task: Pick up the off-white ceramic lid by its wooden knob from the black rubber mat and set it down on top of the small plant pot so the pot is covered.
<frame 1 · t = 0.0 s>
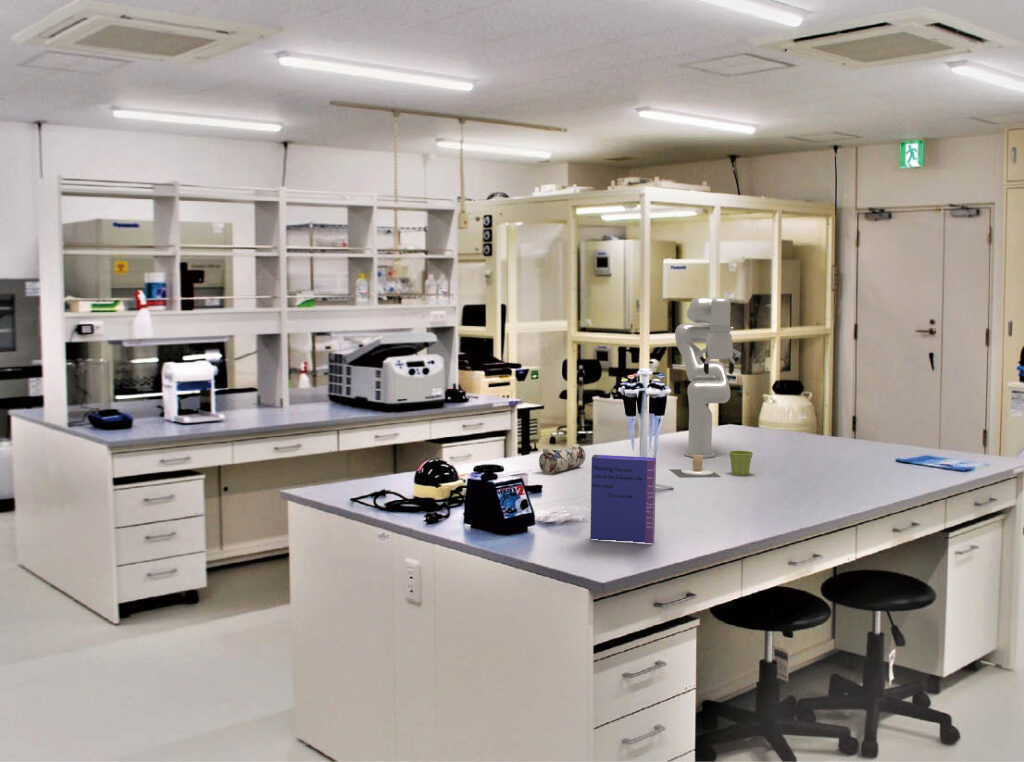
hand: (718, 373, 402), 37 cm above the worktop, tool pointing down, fingers open, 9 cm apart
mat: (694, 474, 388), on the worktop
lid: (697, 473, 388), resting on mat
blue hardcover book: (622, 541, 289), on the worktop
pencil case: (562, 470, 395), on the worktop
plant pot: (740, 475, 388), on the worktop
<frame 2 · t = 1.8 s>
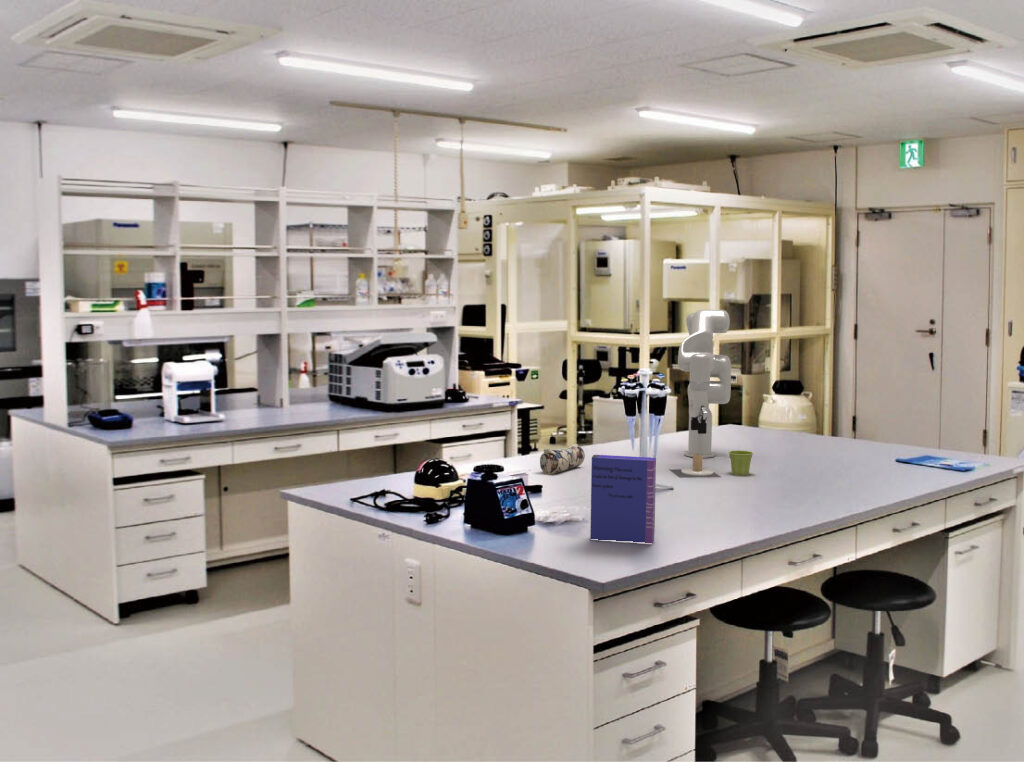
hand: (698, 431, 387), 16 cm above the worktop, tool pointing down, fingers open, 9 cm apart
nothing on the worktop moved.
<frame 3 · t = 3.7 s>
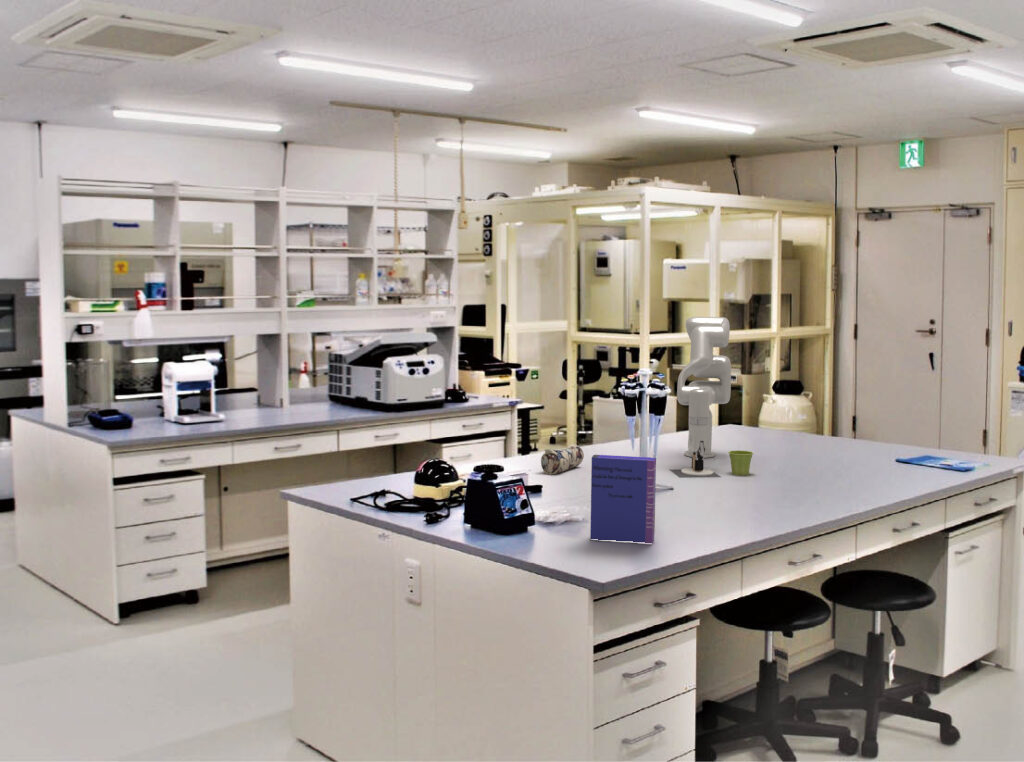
hand: (697, 468, 388), 2 cm above the worktop, tool pointing down, fingers closed on lid, 3 cm apart
lid: (697, 473, 388), resting on mat, touching gripper
everything else where it was.
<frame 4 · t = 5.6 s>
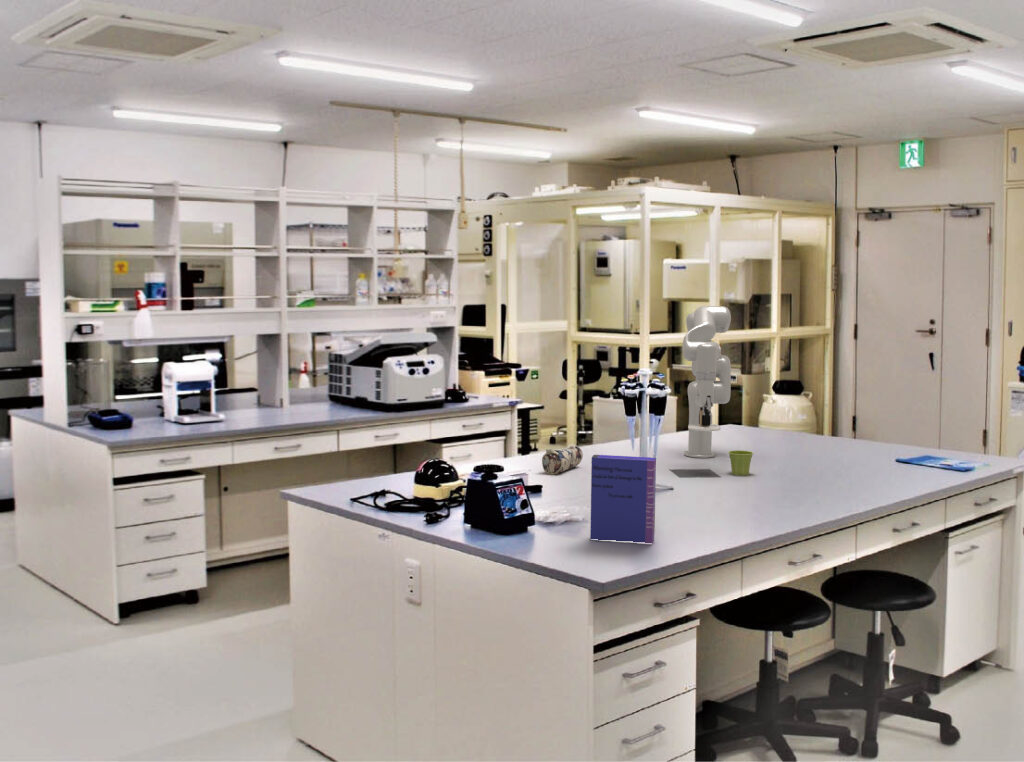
hand: (704, 424, 387), 19 cm above the worktop, tool pointing down, fingers closed on lid, 3 cm apart
lid: (704, 428, 387), point 17 cm above the worktop, touching gripper
everything else where it was.
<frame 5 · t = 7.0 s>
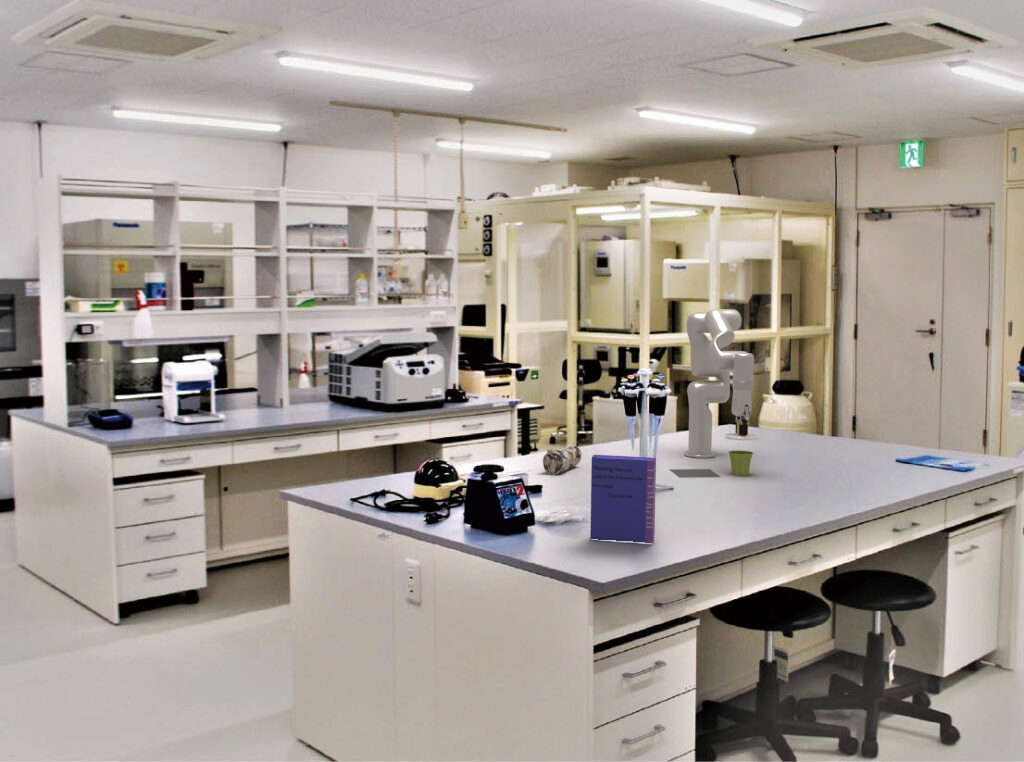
hand: (741, 433, 386), 16 cm above the worktop, tool pointing down, fingers closed on lid, 3 cm apart
lid: (741, 438, 386), point 14 cm above the worktop, touching gripper
when the fingers open (12 cm above the worktop, at t = 7.8 s): lid drops 2 cm, resting on plant pot.
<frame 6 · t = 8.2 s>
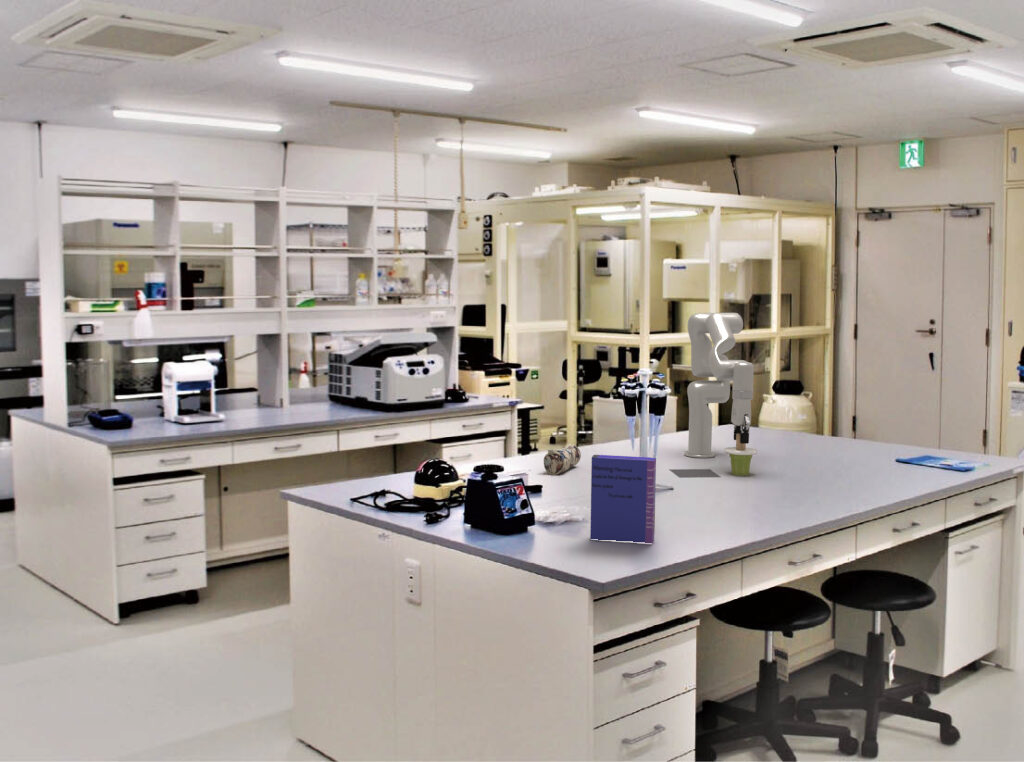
hand: (741, 441, 387), 13 cm above the worktop, tool pointing down, fingers open, 7 cm apart
lid: (740, 452, 387), point 9 cm above the worktop, touching plant pot
plant pot: (740, 475, 388), on the worktop, touching lid
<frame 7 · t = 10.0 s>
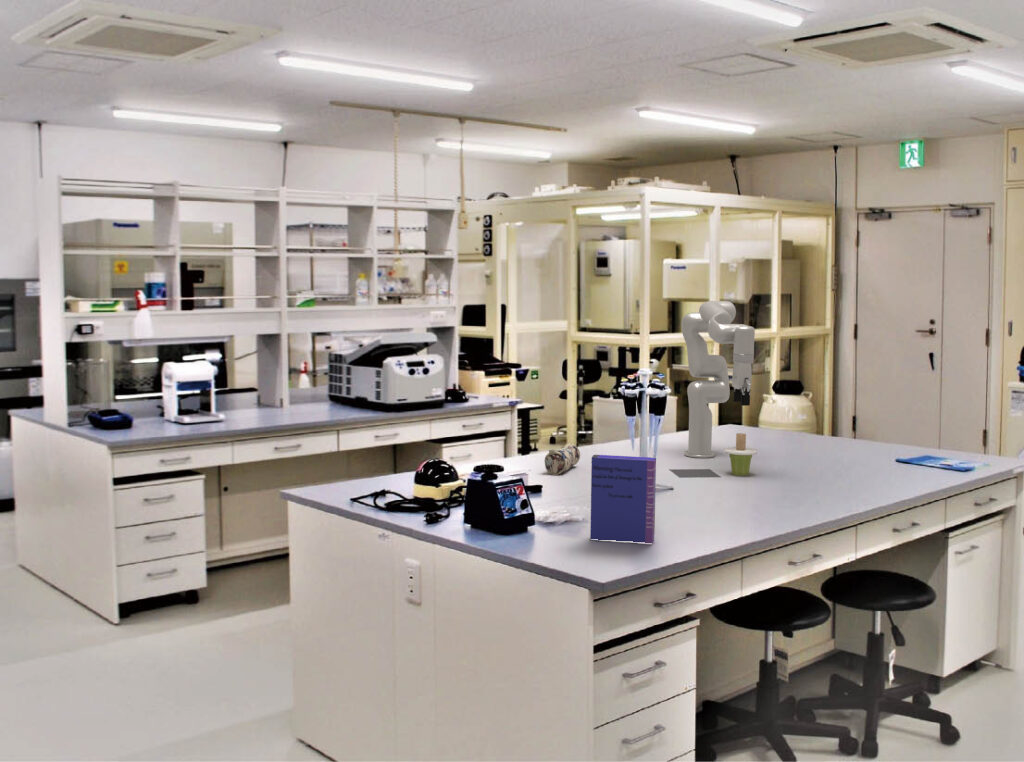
hand: (741, 403, 389), 27 cm above the worktop, tool pointing down, fingers open, 9 cm apart
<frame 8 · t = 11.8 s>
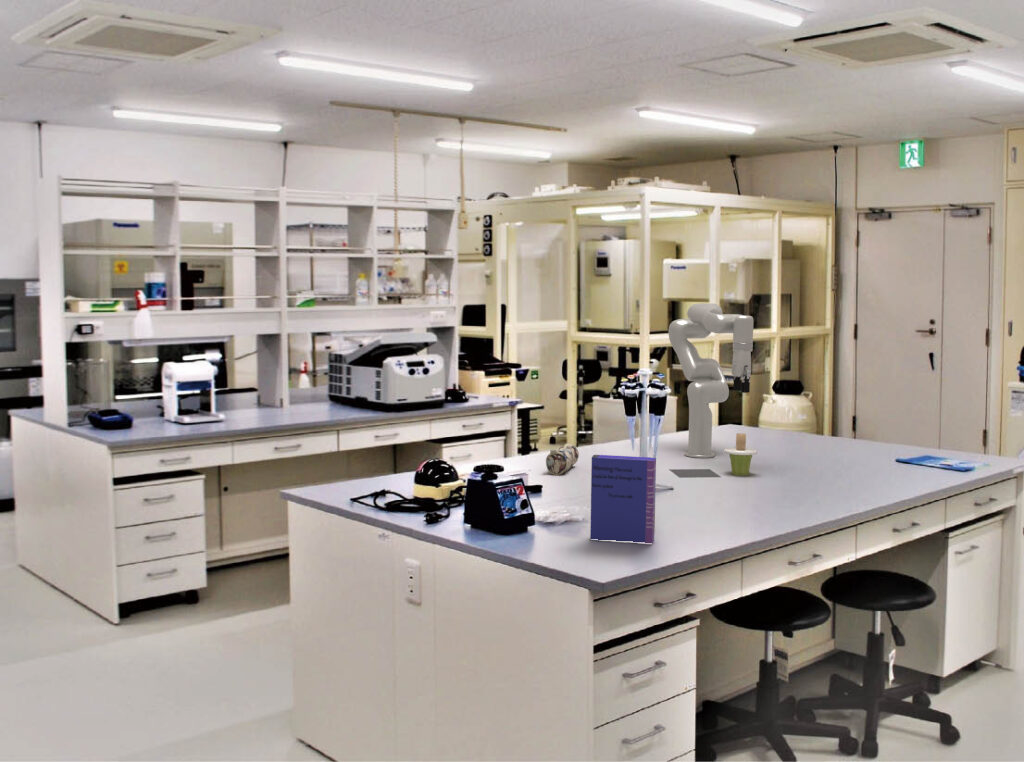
hand: (741, 391, 399), 30 cm above the worktop, tool pointing down, fingers open, 9 cm apart
at the end: lid 0.1 cm from the plant pot (horizontally); lid point 8.6 cm above the worktop; lid tilted 0° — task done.
